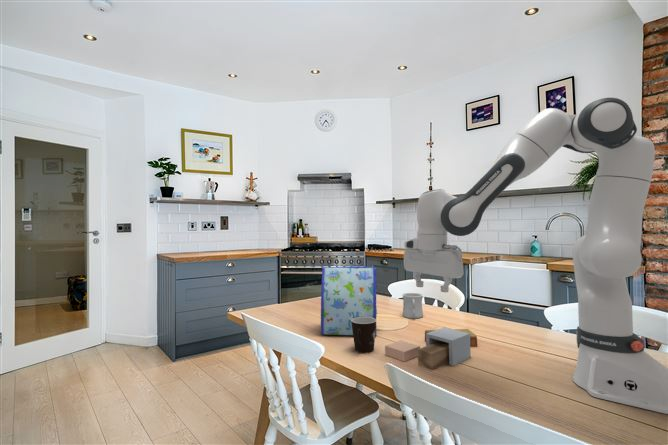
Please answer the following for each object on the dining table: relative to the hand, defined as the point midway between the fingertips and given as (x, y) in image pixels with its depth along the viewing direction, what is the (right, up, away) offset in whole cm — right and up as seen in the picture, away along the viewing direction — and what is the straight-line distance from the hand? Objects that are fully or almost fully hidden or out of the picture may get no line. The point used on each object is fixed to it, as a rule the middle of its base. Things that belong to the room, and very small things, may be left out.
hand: (431, 289), depth 108 cm
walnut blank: (+2, -23, +2) cm, 23 cm away
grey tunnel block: (+7, -22, +5) cm, 24 cm away
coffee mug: (-20, -23, +13) cm, 33 cm away
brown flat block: (+12, -23, +18) cm, 32 cm away
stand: (-7, -23, +8) cm, 25 cm away
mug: (+6, -23, +54) cm, 59 cm away
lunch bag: (-23, -24, +35) cm, 48 cm away
